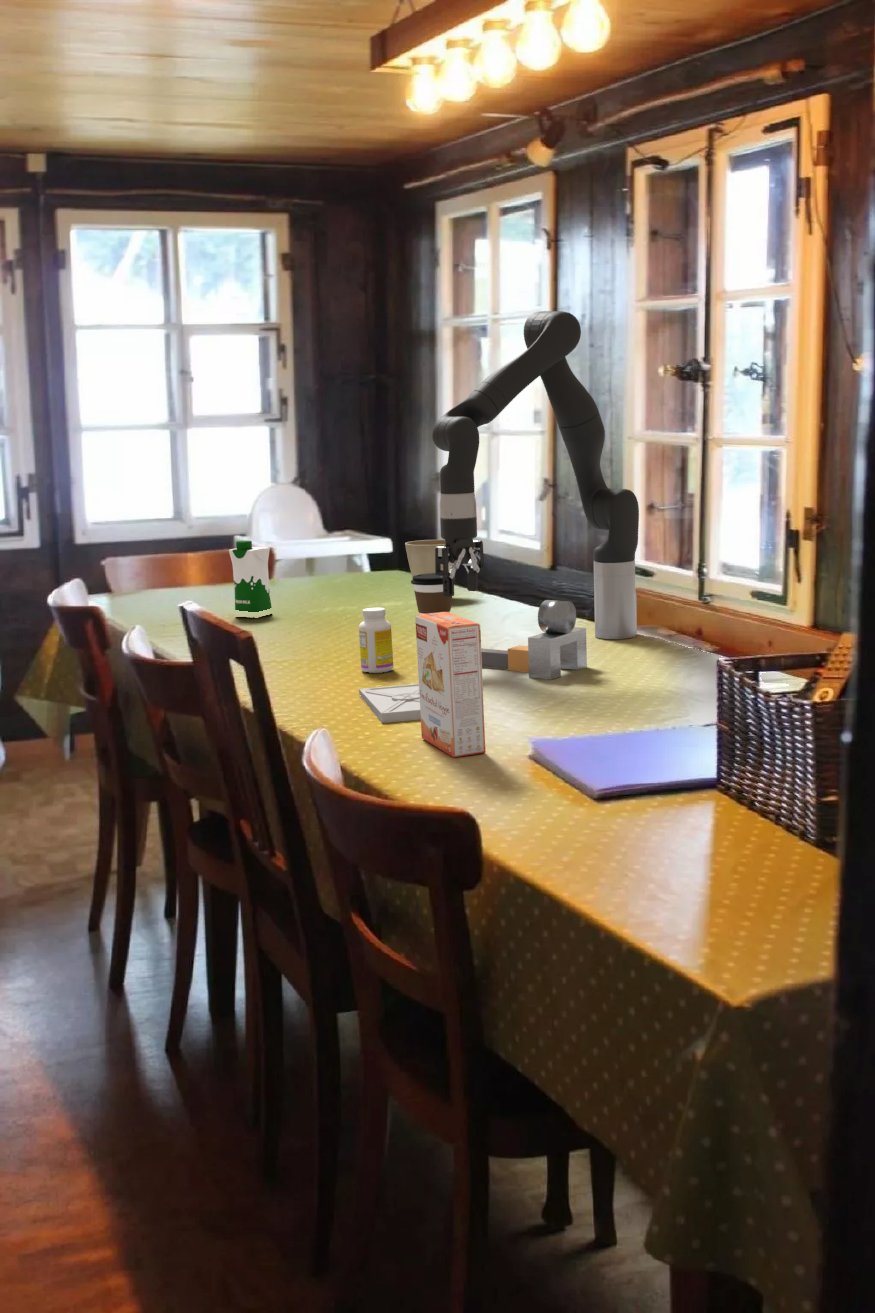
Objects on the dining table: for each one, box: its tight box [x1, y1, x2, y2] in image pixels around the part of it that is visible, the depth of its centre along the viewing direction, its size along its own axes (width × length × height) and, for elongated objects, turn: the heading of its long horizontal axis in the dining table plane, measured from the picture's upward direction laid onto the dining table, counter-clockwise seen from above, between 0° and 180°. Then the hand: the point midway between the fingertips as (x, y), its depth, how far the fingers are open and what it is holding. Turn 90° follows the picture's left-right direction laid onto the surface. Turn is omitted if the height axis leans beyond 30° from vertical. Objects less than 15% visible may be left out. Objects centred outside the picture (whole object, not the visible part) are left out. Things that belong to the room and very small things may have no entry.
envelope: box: [358, 683, 421, 724], centre depth 253 cm, size 24×2×14 cm
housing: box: [527, 599, 588, 681], centre depth 276 cm, size 14×5×14 cm, turn 144°
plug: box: [481, 644, 529, 673], centre depth 285 cm, size 19×4×4 cm, turn 54°
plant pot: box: [404, 539, 457, 577], centre depth 379 cm, size 15×15×16 cm
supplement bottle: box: [358, 607, 394, 674], centre depth 285 cm, size 7×7×13 cm
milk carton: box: [228, 540, 273, 612], centre depth 363 cm, size 9×9×20 cm
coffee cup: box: [410, 573, 457, 615], centre depth 340 cm, size 11×11×12 cm
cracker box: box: [414, 612, 486, 758], centre depth 220 cm, size 14×6×21 cm, turn 22°
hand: (461, 593), depth 288 cm, fingers open, 8 cm apart
